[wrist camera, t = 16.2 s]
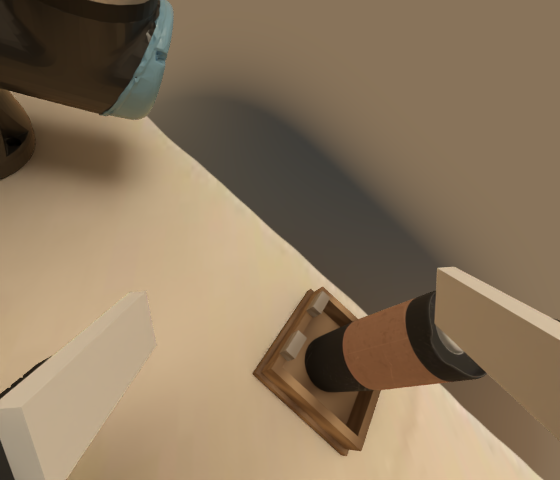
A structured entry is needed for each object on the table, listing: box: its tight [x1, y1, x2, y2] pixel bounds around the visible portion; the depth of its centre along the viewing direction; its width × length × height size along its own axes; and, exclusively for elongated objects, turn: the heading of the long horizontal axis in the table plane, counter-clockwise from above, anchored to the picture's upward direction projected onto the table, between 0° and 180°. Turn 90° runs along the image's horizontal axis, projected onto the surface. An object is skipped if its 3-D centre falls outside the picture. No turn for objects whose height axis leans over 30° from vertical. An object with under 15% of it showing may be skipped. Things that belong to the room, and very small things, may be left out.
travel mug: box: [305, 291, 487, 392], centre depth 32 cm, size 8×8×20 cm
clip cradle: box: [253, 287, 381, 456], centre depth 39 cm, size 15×15×6 cm
